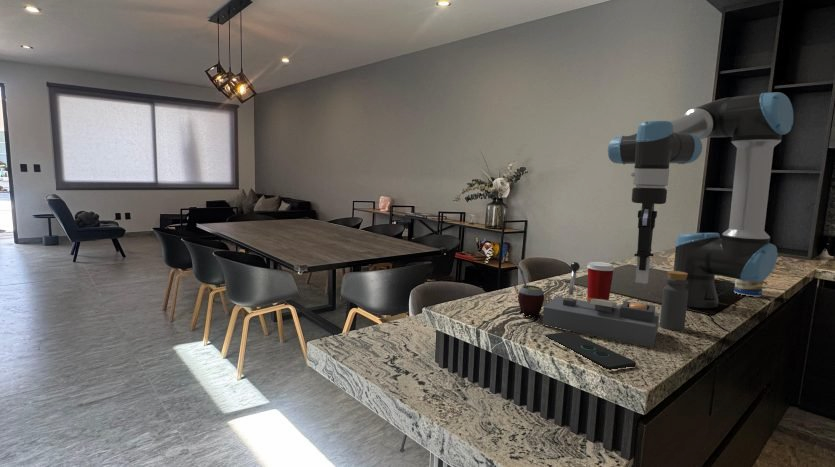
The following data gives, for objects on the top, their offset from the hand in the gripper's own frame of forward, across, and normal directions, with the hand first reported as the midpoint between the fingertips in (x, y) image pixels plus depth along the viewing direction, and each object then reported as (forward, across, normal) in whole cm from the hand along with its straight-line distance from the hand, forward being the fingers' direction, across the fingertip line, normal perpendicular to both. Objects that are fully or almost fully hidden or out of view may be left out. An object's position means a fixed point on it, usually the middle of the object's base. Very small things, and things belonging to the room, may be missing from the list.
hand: (641, 282), depth 114 cm
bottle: (+14, -13, +7) cm, 21 cm away
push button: (+8, +1, 0) cm, 8 cm away
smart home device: (+14, +20, -8) cm, 26 cm away
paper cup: (+14, -18, -13) cm, 26 cm away
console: (+14, +1, -9) cm, 16 cm away
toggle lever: (+6, 0, -17) cm, 18 cm away
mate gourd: (+14, +1, -28) cm, 31 cm away
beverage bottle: (+16, -76, +29) cm, 82 cm away
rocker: (+7, 0, -8) cm, 11 cm away
